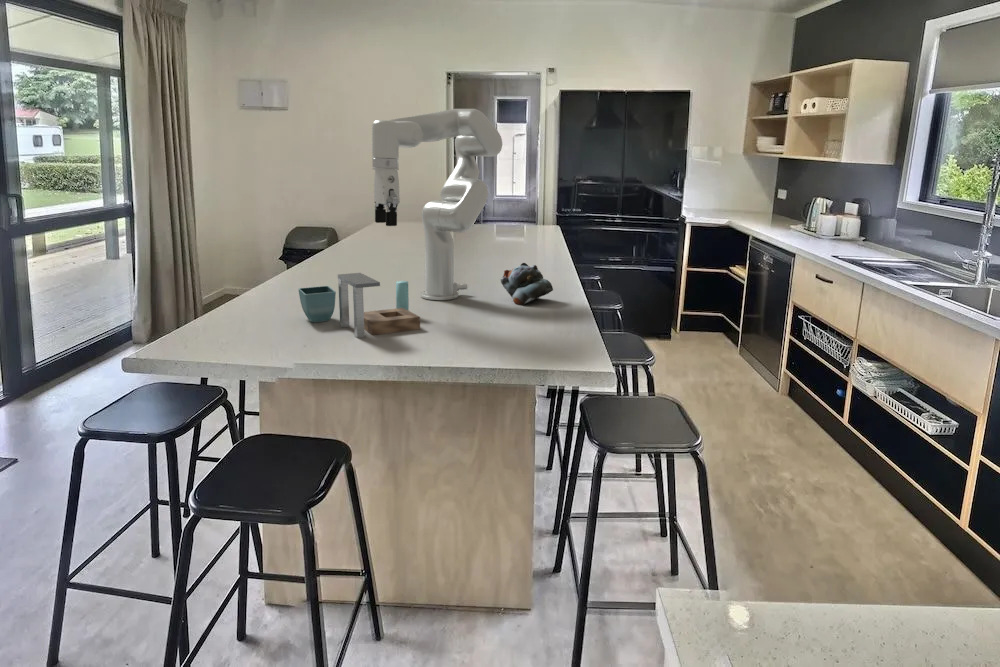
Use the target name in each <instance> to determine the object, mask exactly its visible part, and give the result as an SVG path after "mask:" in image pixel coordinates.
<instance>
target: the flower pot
mask: <svg viewBox="0 0 1000 667" xmlns="http://www.w3.org/2000/svg"><path fill="white" fill-rule="evenodd" d="M297 290H298V295H299V296H298V297H299V299H300V300H299V301H300V304H301V305H300V307H301V308H302V311H303V313H304V314H305V317H306V318H307V319H308V320H309V321H310V322H311V323H313V324H314V323H318V322H328V321H330V320H331V318H332V316H333V315H334V311H335V307H336V293H337V292H336V291H335V290H334V289H333V288H331V287H330V285H329V286H328V285H322V286H320V285H319V286H311V287H299V288H298V289H297Z"/></svg>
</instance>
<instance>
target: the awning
mask: <svg viewBox="0 0 1000 667" xmlns="http://www.w3.org/2000/svg"><path fill="white" fill-rule="evenodd" d="M337 281H338V307H339V308H338V309H339V325H340V326H339V327H341V328H349V327H350V311H349V310H350V305H349V304H350V303H349V302H350V301H349V286H351V287H352V294H353V295H352V299H353V301H352V302H353V324H354V326H353V327H354V337H355V338H357V339H360V338H365V330H364V312H365V311H364V310H365V309H364V308H365V307H364V306H365V305H364V288H371V287H373V288H374V287H381V282H380V281H378V280H376V279H374V278H372V277H370V276H368V275H366V274H364V273H362V272H353V273H339V274H337Z"/></svg>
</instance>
